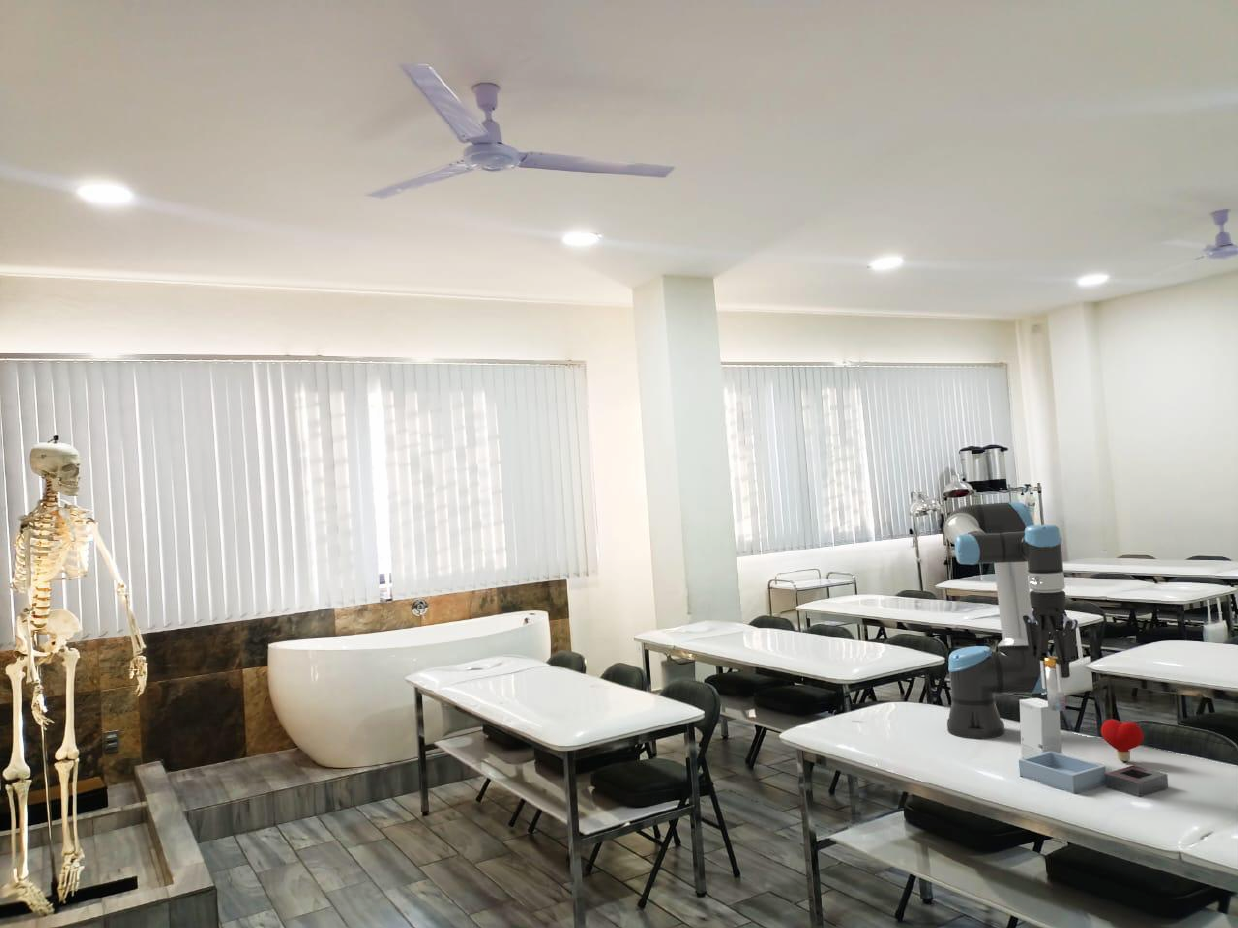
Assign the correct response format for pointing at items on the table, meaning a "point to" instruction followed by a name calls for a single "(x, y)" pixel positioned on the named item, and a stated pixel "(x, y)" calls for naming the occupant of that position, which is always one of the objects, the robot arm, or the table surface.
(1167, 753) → the table surface
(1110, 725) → the red heart shape
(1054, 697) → the copper top battery
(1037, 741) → the skincare box
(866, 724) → the table surface
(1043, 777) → the tray
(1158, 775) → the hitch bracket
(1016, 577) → the robot arm
